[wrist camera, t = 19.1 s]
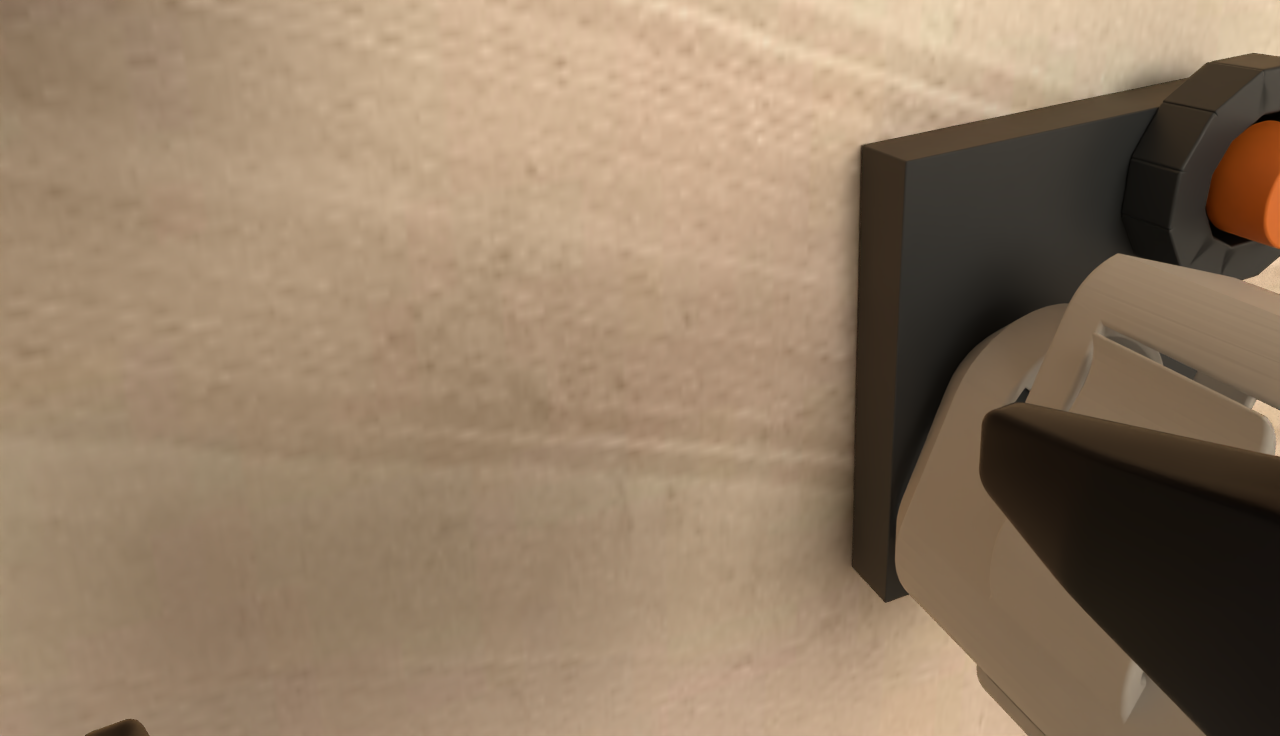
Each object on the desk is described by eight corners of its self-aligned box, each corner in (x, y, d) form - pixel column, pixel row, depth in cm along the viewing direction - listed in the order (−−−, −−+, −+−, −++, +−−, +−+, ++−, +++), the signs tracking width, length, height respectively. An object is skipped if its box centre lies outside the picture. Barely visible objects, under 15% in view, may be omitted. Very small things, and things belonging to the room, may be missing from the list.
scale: (862, 107, 23) (952, 135, 20) (1247, 32, 26) (1372, 47, 24) (851, 567, 30) (916, 638, 27) (1157, 459, 34) (1243, 511, 31)
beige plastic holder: (1146, 242, 26) (1715, 449, 16) (981, 601, 30) (1346, 944, 20) (971, 203, 23) (1528, 426, 13) (815, 605, 27) (1145, 1008, 17)
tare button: (1217, 130, 23) (1282, 144, 22) (1303, 110, 24) (1370, 123, 23) (1194, 241, 25) (1253, 262, 23) (1276, 219, 26) (1338, 237, 24)
